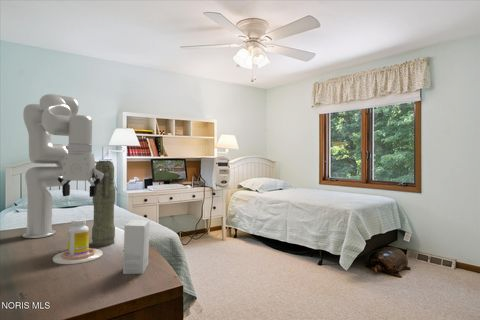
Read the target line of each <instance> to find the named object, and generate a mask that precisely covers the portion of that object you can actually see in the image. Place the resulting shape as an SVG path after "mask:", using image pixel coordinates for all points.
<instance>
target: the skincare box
mask: <svg viewBox="0 0 480 320" xmlns="http://www.w3.org/2000/svg"><path fill="white" fill-rule="evenodd" d="M123 237H124V238H123V267H122V269H123V270H122V273H123V274H122V275H143V274H144V273H145V272H146V269H147V267H148V266H149V251H150V250H149V249H150V245H149V244H150V219H131V220H129V221H128V222H127V223H126V224H125V225H124V235H123Z"/></svg>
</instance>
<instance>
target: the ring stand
mask: <svg viewBox="0 0 480 320" xmlns="http://www.w3.org/2000/svg"><path fill="white" fill-rule="evenodd" d="M102 256H103V251H102V250H101V249H97V248H90V247H89V252H88V254H87V255H82V256H74V257H69V256H68V250H66V251H62V252H60V253H57V254H56V255H54V256H53V257H52V262H53V263H55V264H58V265H77V264H86V263H88V262H89V263H90V262H93V261H95V260H98V259H100V258H101V257H102Z"/></svg>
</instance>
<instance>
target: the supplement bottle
mask: <svg viewBox="0 0 480 320" xmlns="http://www.w3.org/2000/svg"><path fill="white" fill-rule="evenodd" d="M86 223H87V219H86V218H75V219H71V223H70V224H71V226H70V227H69V228H68V230H67V251H68V256H69V257H74V256H82V255H87V254H88V252H89V248H90V246H89V245H90V244H89V242H90V241H89V240H90V239H89V237H90V235H89V234H90V231H89V230H90V229H89V226H87V225H86Z"/></svg>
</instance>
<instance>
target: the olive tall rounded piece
mask: <svg viewBox="0 0 480 320" xmlns="http://www.w3.org/2000/svg"><path fill="white" fill-rule="evenodd" d="M95 169H96V170H98V171H100V172H101V173H103V174H104V176H103V178H102V180H101V182H100V183H98V185H97V191H96V196H94V197H92V204H93V225H92V227H91V228H92V229H91V241H92V242H91V245H92V246H93V247H107V246H111V245H113V244H115V238H116V226H115V224H114V223H115V218H114V217H115V203H116V186H115V182H114V179H115V166H114V162H113V161H112V160H98V161H96V162H95ZM97 178H98V175H95V180H96V179H97Z"/></svg>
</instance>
